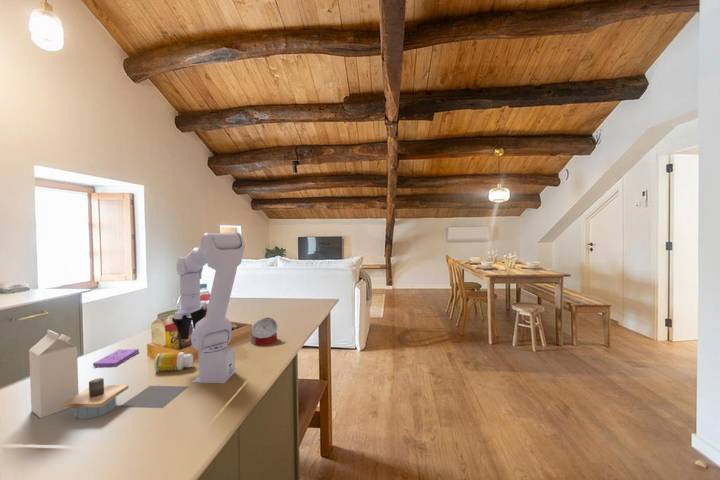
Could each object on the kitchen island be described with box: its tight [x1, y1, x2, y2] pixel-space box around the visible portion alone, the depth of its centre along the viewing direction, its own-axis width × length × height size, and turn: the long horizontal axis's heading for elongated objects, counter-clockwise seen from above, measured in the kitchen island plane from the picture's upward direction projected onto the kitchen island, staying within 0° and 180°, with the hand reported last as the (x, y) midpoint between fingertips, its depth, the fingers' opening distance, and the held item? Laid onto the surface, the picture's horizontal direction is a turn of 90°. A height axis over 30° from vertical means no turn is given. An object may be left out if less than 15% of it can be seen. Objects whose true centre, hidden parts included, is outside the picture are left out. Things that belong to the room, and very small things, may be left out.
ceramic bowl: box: [74, 396, 117, 419], centre depth 81 cm, size 8×8×4 cm
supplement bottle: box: [153, 351, 194, 372], centre depth 104 cm, size 5×5×10 cm
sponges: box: [92, 348, 140, 368], centre depth 114 cm, size 7×13×2 cm, turn 3°
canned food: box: [250, 317, 278, 346], centre depth 131 cm, size 11×10×10 cm
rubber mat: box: [119, 385, 189, 409], centre depth 87 cm, size 11×11×1 cm
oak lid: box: [61, 377, 129, 408], centre depth 80 cm, size 9×9×4 cm
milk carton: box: [28, 329, 80, 419], centre depth 82 cm, size 7×7×19 cm
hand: (191, 335), depth 109 cm, fingers open, 7 cm apart
